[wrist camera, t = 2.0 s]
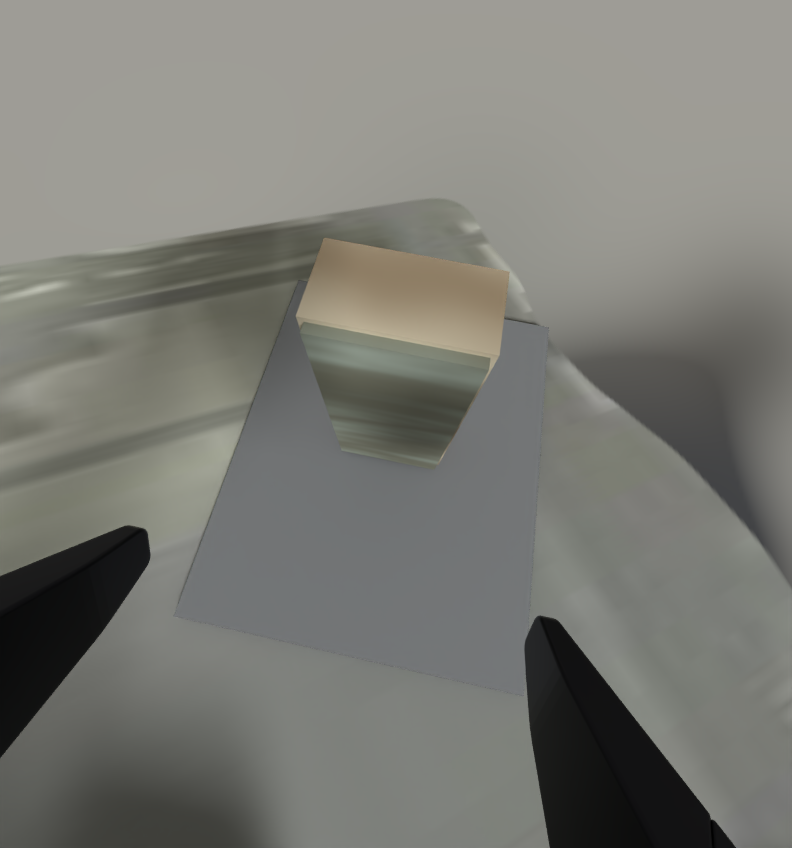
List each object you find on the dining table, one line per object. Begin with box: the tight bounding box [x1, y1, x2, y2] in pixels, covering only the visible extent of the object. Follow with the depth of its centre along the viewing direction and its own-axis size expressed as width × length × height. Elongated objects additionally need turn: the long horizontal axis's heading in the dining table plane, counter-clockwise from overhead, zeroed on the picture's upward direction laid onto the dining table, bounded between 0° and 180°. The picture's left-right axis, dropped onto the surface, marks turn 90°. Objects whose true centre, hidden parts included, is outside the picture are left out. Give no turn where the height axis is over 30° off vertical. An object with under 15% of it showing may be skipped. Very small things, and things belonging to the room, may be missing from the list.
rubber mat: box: [174, 280, 549, 696], centre depth 23 cm, size 22×18×1 cm
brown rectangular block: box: [296, 238, 509, 470], centre depth 17 cm, size 4×6×12 cm, turn 78°
